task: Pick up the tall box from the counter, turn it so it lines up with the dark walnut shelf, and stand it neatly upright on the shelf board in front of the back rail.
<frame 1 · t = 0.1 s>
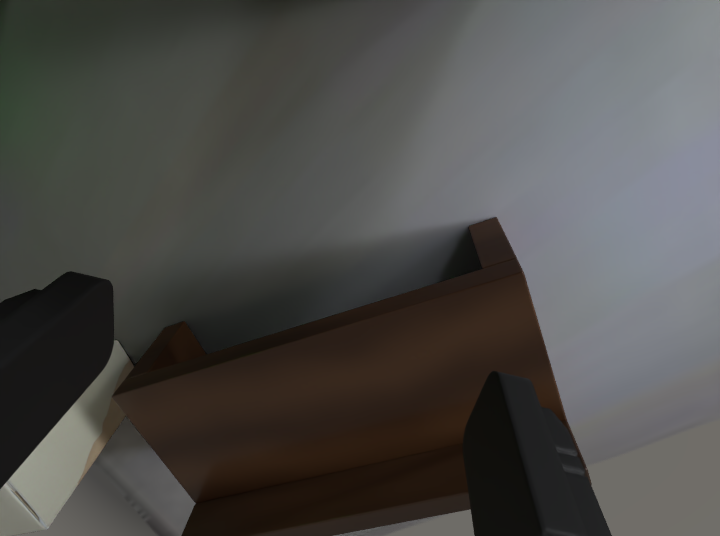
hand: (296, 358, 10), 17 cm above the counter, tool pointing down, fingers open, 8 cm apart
box: (105, 367, 34), on the counter
shelf: (347, 341, 31), on the counter
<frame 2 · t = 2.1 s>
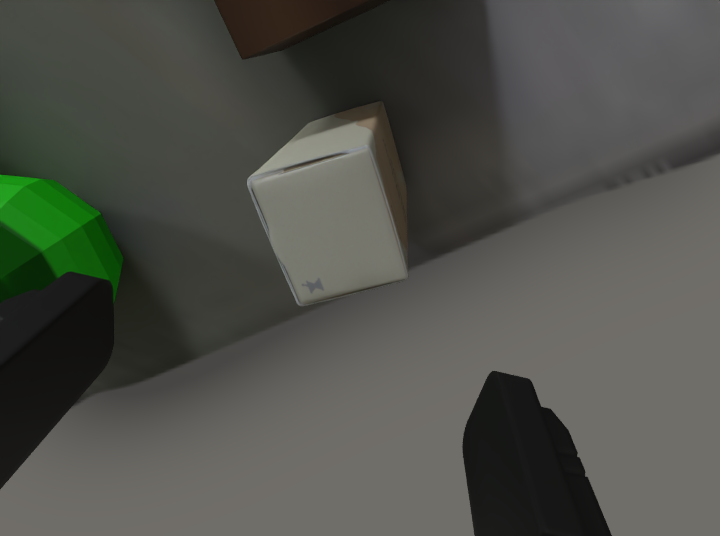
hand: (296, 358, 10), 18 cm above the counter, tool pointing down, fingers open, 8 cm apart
box: (356, 154, 26), on the counter
plastic bottle: (70, 234, 29), on the counter
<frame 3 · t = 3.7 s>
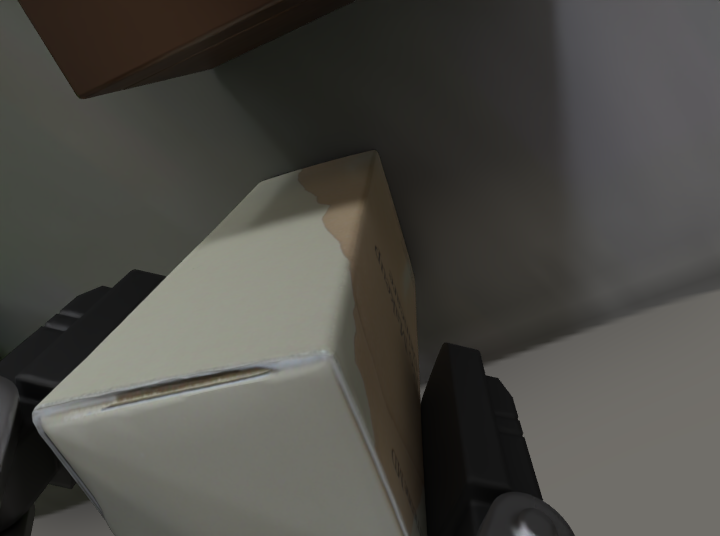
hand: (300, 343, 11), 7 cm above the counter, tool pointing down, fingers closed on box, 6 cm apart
box: (337, 228, 17), on the counter, touching gripper
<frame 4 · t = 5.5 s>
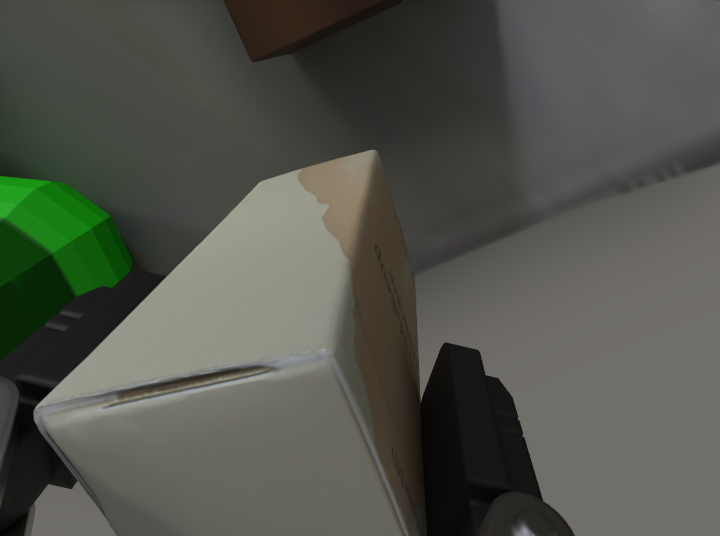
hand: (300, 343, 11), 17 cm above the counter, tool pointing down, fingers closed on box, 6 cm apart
box: (337, 227, 17), point 10 cm above the counter, touching gripper
plastic bottle: (80, 236, 30), on the counter
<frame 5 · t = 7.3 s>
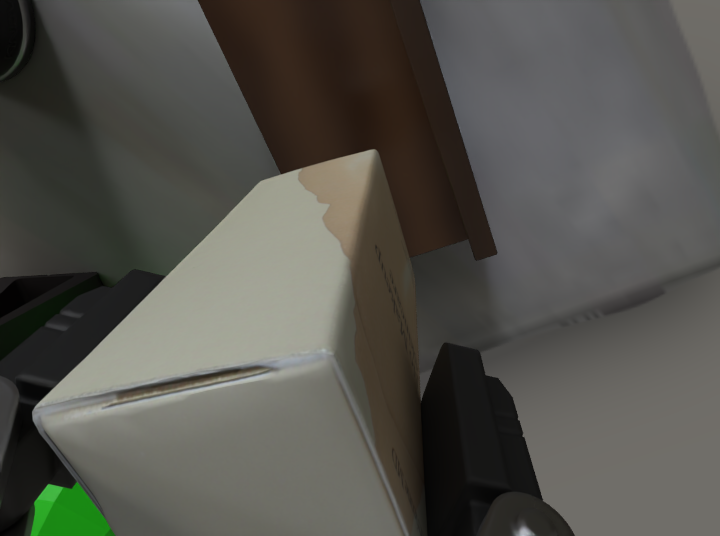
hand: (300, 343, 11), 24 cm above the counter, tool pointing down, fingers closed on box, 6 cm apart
box: (337, 227, 17), point 18 cm above the counter, touching gripper
shelf: (349, 68, 31), on the counter
plastic bottle: (189, 343, 42), on the counter
phone stand: (64, 304, 41), on the counter
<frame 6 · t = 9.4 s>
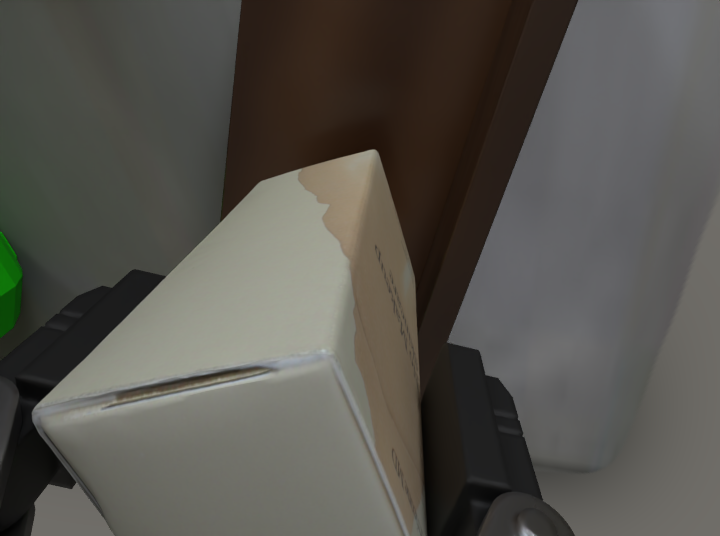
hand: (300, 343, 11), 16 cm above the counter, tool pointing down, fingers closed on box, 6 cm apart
box: (337, 227, 17), point 9 cm above the counter, touching gripper
shelf: (377, 79, 23), on the counter
when the fingers open (13 cm above the counter, at t = 10.8 s): box stays where it is, resting on shelf.
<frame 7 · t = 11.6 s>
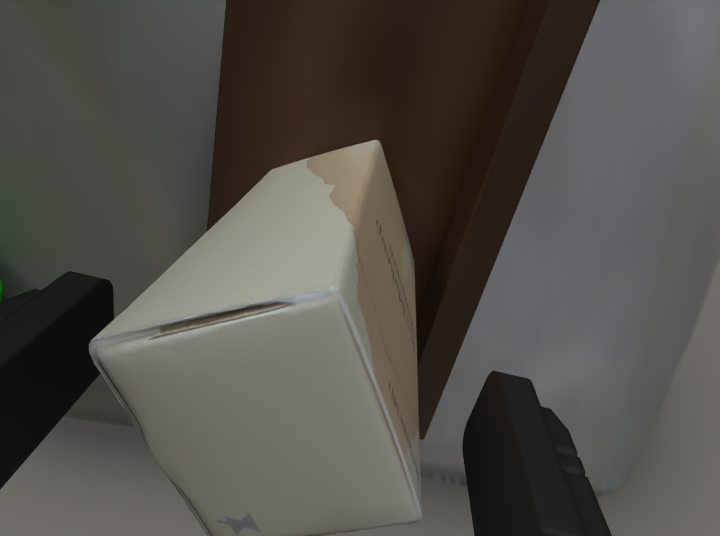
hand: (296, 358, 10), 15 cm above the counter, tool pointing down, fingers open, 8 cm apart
box: (342, 213, 18), point 6 cm above the counter, touching shelf
shelf: (377, 84, 22), on the counter
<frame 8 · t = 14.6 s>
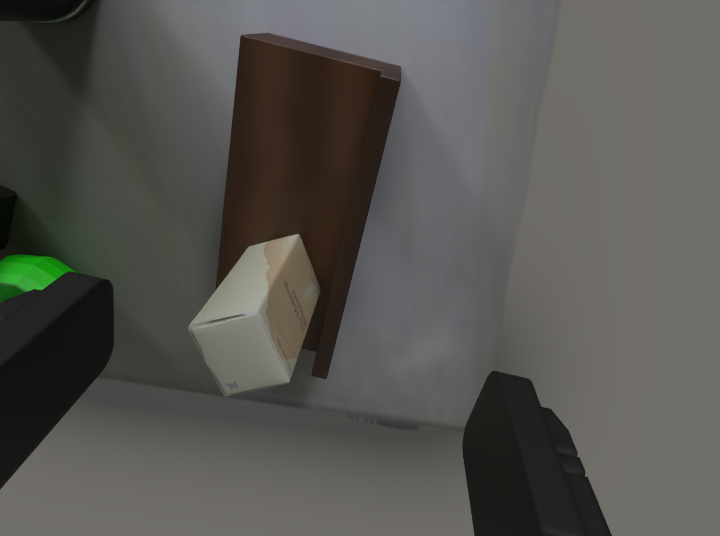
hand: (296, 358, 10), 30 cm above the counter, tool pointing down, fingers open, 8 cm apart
box: (284, 266, 36), point 6 cm above the counter, touching shelf
shelf: (308, 190, 40), on the counter
plastic bottle: (63, 285, 46), on the counter
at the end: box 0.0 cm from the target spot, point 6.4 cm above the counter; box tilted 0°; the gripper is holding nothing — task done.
